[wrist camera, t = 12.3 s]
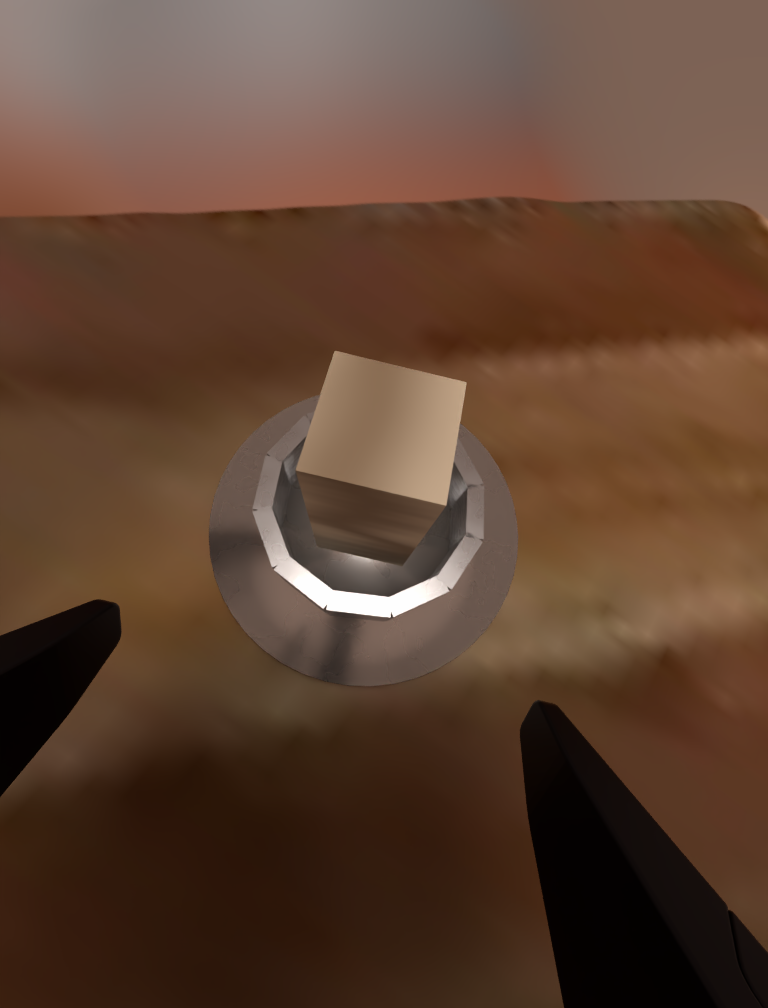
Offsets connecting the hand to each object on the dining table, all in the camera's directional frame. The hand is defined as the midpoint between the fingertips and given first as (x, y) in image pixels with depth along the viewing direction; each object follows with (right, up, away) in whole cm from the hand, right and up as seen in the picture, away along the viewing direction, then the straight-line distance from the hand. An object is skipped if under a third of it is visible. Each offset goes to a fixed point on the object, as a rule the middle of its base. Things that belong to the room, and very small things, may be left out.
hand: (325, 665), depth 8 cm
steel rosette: (0, +2, +13) cm, 13 cm away
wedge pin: (0, +3, +12) cm, 12 cm away
